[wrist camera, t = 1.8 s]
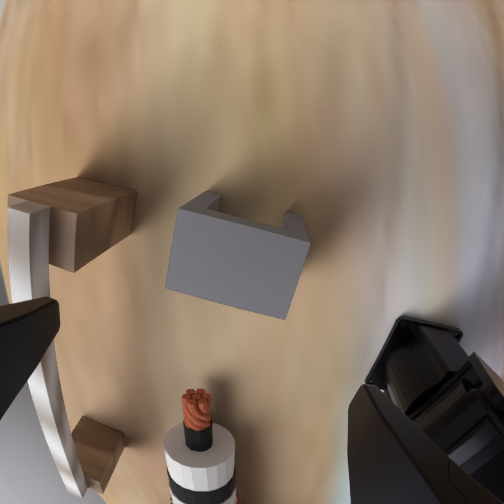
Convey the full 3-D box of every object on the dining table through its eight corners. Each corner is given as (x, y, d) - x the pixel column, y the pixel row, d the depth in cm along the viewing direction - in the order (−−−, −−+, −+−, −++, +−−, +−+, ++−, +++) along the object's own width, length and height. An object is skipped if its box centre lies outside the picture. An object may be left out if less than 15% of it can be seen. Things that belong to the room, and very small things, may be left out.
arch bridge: (76, 177, 20) (-13, 200, 11) (136, 191, 20) (56, 222, 12) (85, 431, 29) (54, 484, 21) (124, 447, 29) (97, 505, 21)
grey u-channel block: (205, 191, 19) (178, 208, 14) (301, 215, 19) (310, 242, 14) (193, 251, 21) (165, 287, 15) (283, 274, 21) (285, 319, 15)
